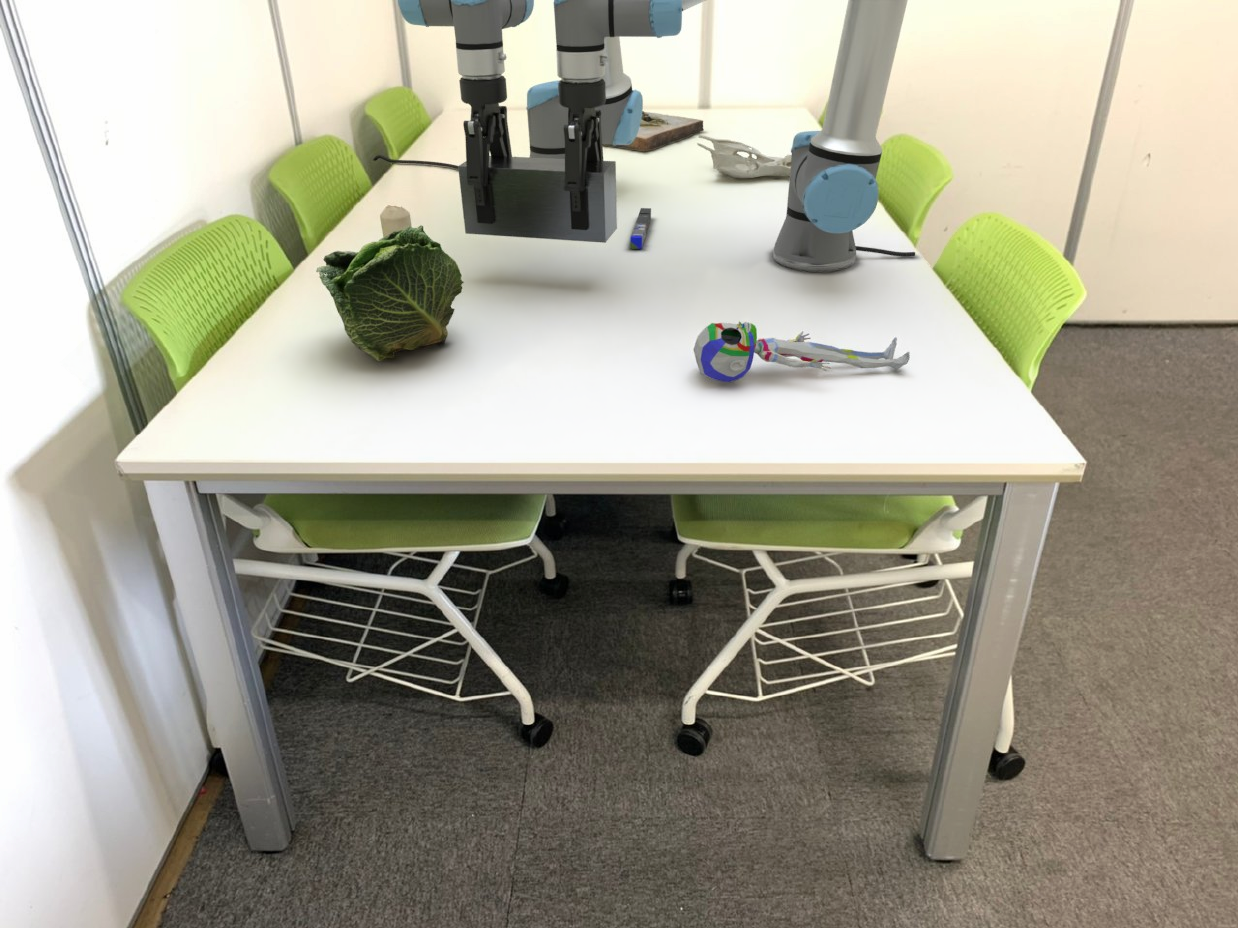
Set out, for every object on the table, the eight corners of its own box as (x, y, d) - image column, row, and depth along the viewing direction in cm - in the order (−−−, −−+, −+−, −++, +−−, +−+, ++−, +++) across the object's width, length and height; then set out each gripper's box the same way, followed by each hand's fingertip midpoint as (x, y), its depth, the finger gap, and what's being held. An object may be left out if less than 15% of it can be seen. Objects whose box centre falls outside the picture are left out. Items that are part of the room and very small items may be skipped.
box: (465, 233, 156) (457, 166, 150) (481, 220, 163) (475, 155, 157) (605, 243, 151) (603, 173, 145) (617, 228, 157) (615, 161, 151)
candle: (421, 255, 174) (414, 203, 169) (406, 264, 170) (398, 212, 164) (396, 252, 176) (388, 201, 170) (381, 261, 171) (372, 209, 166)
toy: (920, 350, 124) (709, 333, 119) (901, 404, 128) (697, 389, 123) (893, 321, 132) (695, 304, 127) (877, 373, 137) (685, 357, 132)
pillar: (651, 208, 191) (641, 238, 174) (650, 218, 192) (641, 249, 175) (640, 208, 191) (630, 238, 174) (640, 218, 192) (630, 249, 175)
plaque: (647, 125, 237) (559, 112, 252) (647, 153, 241) (560, 139, 256) (706, 107, 258) (622, 97, 273) (705, 133, 262) (622, 121, 277)
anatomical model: (699, 131, 223) (801, 130, 220) (699, 169, 228) (798, 168, 225) (695, 146, 211) (802, 144, 207) (695, 185, 216) (799, 184, 212)
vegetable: (383, 372, 146) (305, 267, 139) (481, 306, 148) (409, 199, 140) (387, 399, 128) (297, 280, 120) (499, 324, 129) (417, 201, 122)
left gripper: (480, 88, 136) (493, 235, 148) (525, 66, 153) (534, 200, 165) (434, 86, 138) (451, 232, 150) (484, 65, 155) (495, 197, 167)
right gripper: (586, 91, 132) (591, 242, 145) (620, 69, 149) (622, 205, 161) (538, 90, 134) (547, 239, 146) (577, 68, 151) (582, 203, 163)
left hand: (494, 215), depth 157 cm, fingers closed on box, 8 cm apart
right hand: (586, 221), depth 154 cm, fingers closed on box, 8 cm apart
